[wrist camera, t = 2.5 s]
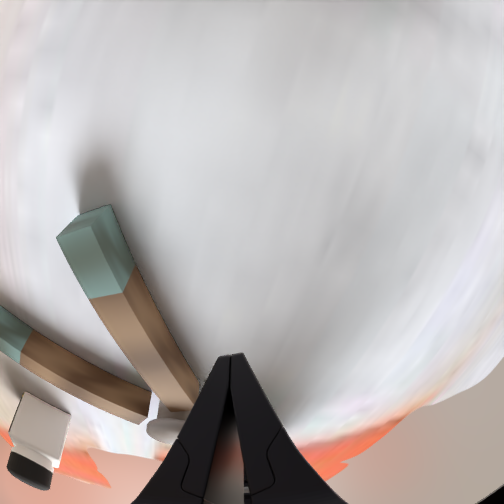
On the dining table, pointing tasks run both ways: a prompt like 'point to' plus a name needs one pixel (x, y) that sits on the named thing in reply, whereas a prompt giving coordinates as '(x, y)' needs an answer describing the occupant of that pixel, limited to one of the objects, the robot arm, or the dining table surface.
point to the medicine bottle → (37, 441)
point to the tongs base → (85, 379)
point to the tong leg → (127, 305)
